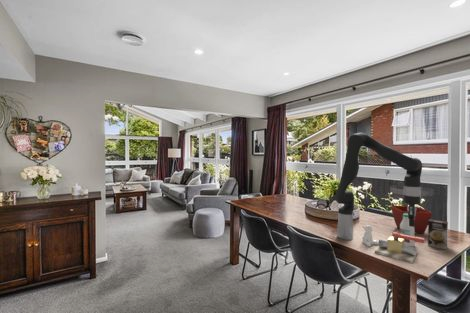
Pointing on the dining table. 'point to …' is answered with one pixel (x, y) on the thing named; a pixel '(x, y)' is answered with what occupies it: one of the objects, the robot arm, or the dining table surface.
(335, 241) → the dining table surface
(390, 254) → the mounting board
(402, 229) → the milk bottle
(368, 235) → the sitting furry creature
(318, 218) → the dining table surface
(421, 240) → the valve lever
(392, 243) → the valve body
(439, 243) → the coffee box
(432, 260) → the dining table surface
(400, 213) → the plant pot
